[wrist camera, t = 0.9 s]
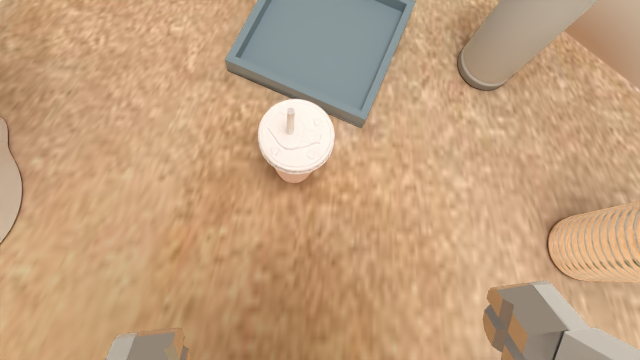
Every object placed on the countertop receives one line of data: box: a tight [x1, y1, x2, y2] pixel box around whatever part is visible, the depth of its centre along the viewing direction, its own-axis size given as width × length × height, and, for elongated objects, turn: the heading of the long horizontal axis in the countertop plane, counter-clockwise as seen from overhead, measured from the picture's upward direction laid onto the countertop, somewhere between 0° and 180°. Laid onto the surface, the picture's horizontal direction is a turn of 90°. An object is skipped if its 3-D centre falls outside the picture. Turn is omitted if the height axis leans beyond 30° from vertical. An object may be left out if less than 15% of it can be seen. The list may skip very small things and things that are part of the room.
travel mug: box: [458, 0, 598, 90], centre depth 37 cm, size 6×7×20 cm
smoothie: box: [258, 99, 335, 183], centre depth 35 cm, size 6×6×14 cm
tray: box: [225, 0, 416, 128], centre depth 45 cm, size 16×16×2 cm
